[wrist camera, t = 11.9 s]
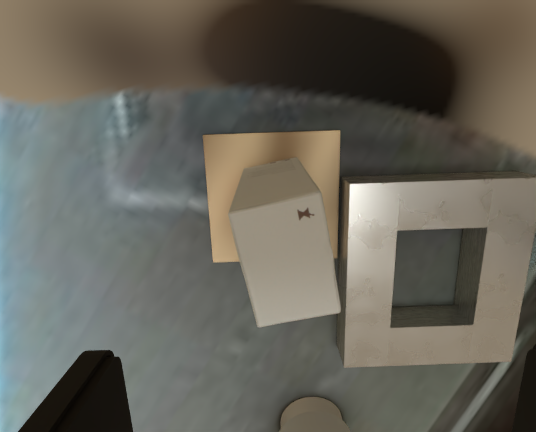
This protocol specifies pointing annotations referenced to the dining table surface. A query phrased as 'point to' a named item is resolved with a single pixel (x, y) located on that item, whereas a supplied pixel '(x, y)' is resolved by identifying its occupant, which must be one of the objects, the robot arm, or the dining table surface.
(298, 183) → the skincare box
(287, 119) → the dining table surface
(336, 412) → the white ribbed canister
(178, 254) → the dining table surface
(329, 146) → the wooden coaster
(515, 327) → the white rectangular frame
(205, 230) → the dining table surface
